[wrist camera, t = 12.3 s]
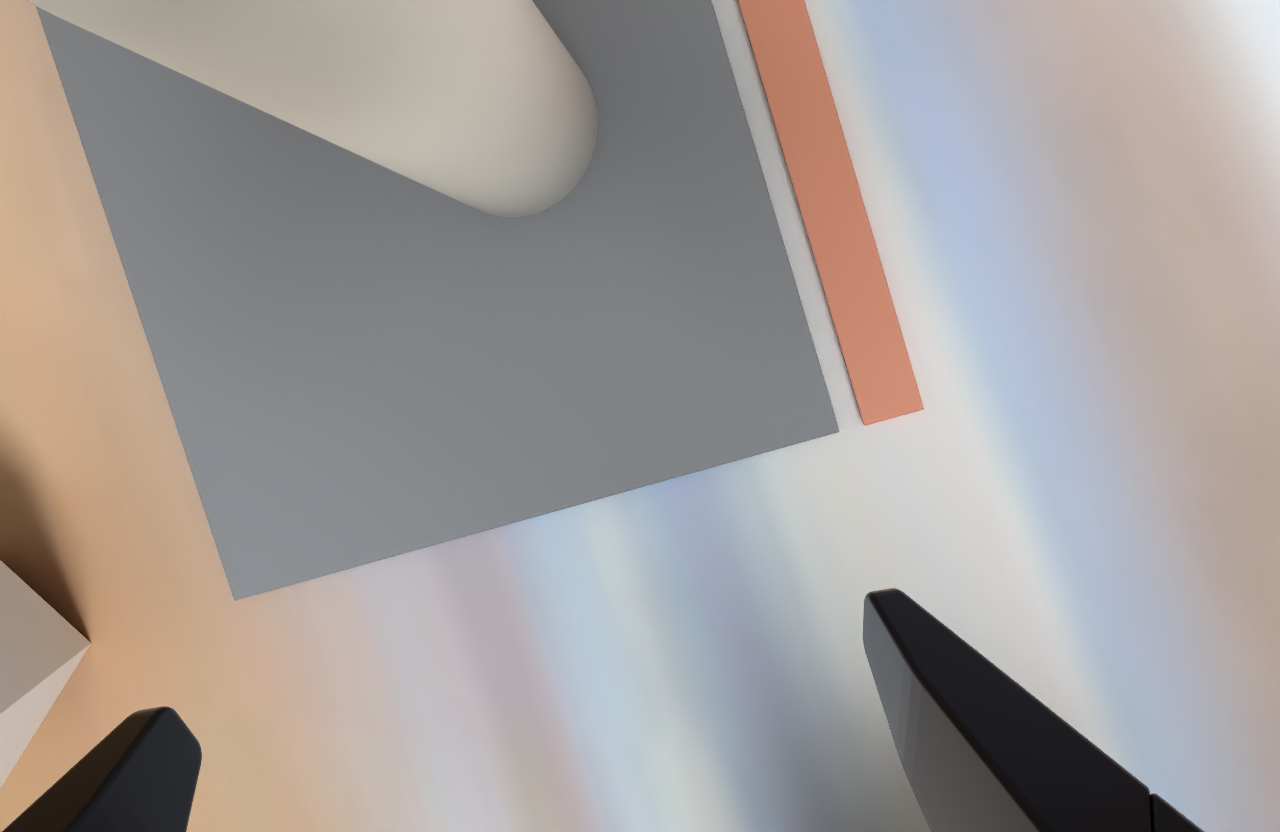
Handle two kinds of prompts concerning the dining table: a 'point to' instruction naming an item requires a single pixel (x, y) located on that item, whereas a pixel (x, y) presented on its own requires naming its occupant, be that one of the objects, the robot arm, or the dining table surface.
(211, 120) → the mat
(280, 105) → the cream teardrop shape
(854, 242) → the strip
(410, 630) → the dining table surface
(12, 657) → the die
